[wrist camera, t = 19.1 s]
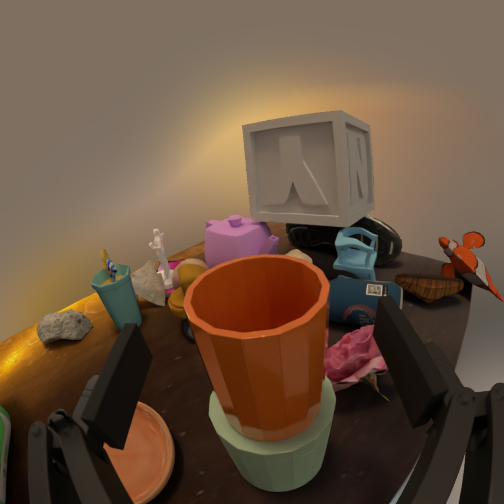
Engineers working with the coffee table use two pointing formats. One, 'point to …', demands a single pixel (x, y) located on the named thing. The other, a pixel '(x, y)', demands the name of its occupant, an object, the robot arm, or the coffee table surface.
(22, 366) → the coffee table surface
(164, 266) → the figurine
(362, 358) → the flower
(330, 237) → the running shoe
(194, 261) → the apple
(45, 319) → the decorative stone
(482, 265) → the fish
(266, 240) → the teapot
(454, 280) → the croissant
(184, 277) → the toy roller
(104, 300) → the cup
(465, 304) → the coffee table surface
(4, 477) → the speaker
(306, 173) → the decorative block
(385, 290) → the soda can
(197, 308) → the orange cup
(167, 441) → the saucer
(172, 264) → the smartphone
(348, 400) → the coffee table surface
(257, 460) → the green jar
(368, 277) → the phone stand
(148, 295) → the arrowhead
